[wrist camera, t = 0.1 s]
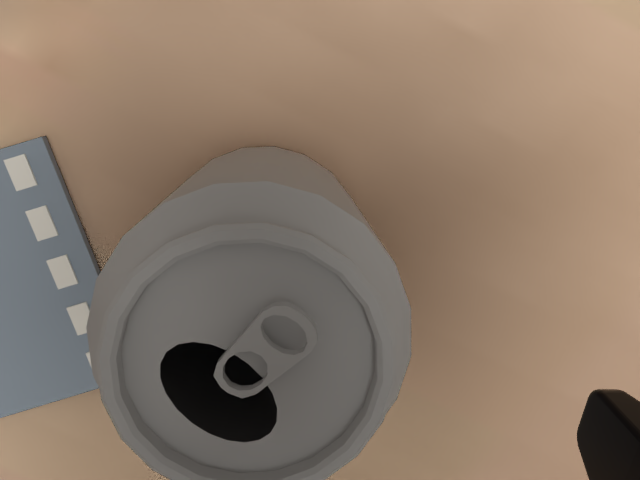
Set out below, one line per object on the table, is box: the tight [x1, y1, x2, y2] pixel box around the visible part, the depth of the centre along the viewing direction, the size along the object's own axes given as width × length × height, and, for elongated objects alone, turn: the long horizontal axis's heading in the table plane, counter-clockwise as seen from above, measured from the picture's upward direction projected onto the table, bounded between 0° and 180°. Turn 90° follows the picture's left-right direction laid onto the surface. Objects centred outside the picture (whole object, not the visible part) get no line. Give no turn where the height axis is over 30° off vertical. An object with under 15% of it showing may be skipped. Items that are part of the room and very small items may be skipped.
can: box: [86, 146, 411, 480], centre depth 18 cm, size 8×8×12 cm
